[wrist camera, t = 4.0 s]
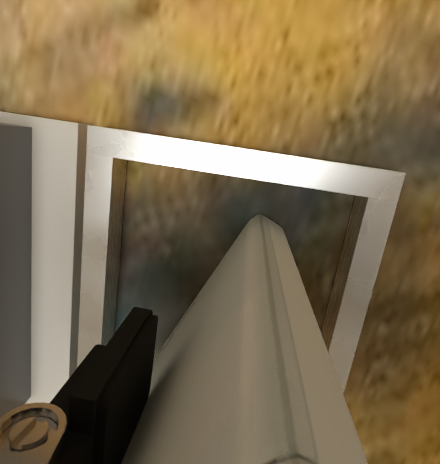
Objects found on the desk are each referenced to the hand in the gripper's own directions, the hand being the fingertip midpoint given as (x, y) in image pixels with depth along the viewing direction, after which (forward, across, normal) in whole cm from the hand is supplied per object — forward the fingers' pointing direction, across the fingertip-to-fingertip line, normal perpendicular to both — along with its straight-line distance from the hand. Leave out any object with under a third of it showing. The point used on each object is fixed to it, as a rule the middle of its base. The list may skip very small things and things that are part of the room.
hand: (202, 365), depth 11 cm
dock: (+5, +12, 0) cm, 13 cm away
